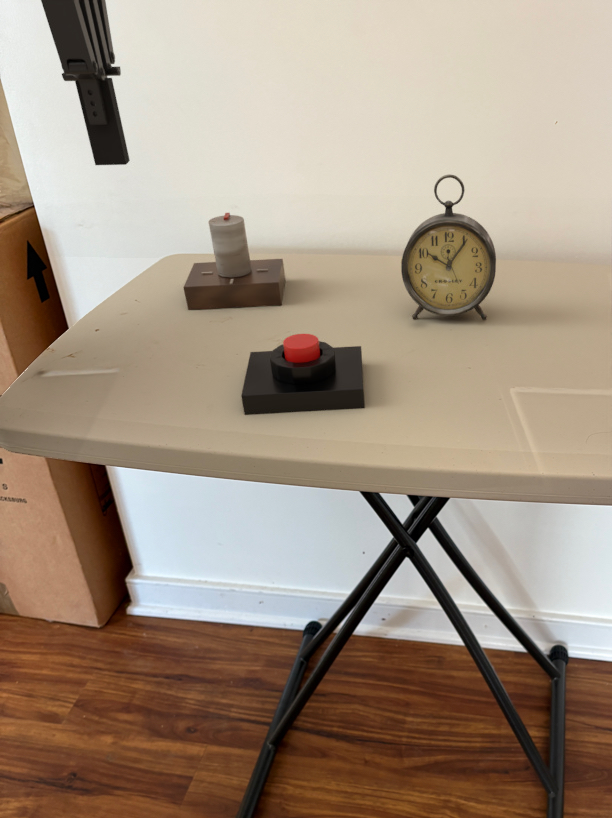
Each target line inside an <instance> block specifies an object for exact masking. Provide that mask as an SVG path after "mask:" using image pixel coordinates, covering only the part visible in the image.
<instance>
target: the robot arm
mask: <svg viewBox="0 0 612 818" xmlns="http://www.w3.org/2000/svg"><path fill="white" fill-rule="evenodd" d="M40 2H41V5H42V7H43V11H44V14H45V17H46V20H47V24H48V27H49V30H50V33H51V37H52V40H53V42H54V46H55V48H56V52H57V55H58V58H59V62H60V65H61V69H62V71H63V73H61V77H62V80H63V81H64V82H74V83H75V86H76V91H77V95H78V99H79V104H80V108H81V112H82V116H83V121H84V124H85V128H86V132H87V135H88V141H89V145H90V148H91V152H92V157H93V161H94V165H95V166H122V165H123V166H124V165H127V164H129V162H130V156H129V151H128V147H127V142H126V141H127V140H126V137H125V132H124V129H123V123H122V119H121V113H120V108H119V104H118V100H117V95H116V91H115V86H114V82H113V76H114V77H120V76H121V74H122V71H121V70H122V69H121V66H112V65H115V62H116V55H115V52H114V46H113V41H112V33H111V27H110V21H109V14H108V9H107V2H106V0H40Z"/></svg>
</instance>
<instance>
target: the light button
mask: <svg viewBox="0 0 612 818" xmlns="http://www.w3.org/2000/svg"><path fill="white" fill-rule="evenodd" d="M319 341H320V340H319V337H317V335H314V334H311V333H297V334H292V335H289V336H287V337H285V338H284V340H283V341H282V344H283V347H284V354H285V359H286V361H290V362H295V363H300V362H309V361H313V360H316V359H318V358H319V357H320V347H319Z"/></svg>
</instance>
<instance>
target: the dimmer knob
mask: <svg viewBox="0 0 612 818" xmlns="http://www.w3.org/2000/svg"><path fill="white" fill-rule="evenodd" d="M208 229H209V232H210V239H211V244H212V251H213V254H214V260H215V261H214V262H216V267H217V272H218V275H220V276H222V277H228V278H234V277H241V276H244V275H247V274H249V273H250V272H251V270H252V269H251V262H250V260H251V257H250V251H249V244H248V237H247V231H246V224H245V219H244V217H243V216H240V215H235V214H231V213H230V212H225V213H224V215H218V216H215V217H212V218H210V219H209V220H208Z"/></svg>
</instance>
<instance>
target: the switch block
mask: <svg viewBox="0 0 612 818" xmlns="http://www.w3.org/2000/svg"><path fill="white" fill-rule="evenodd" d="M319 347H320V357H319V358H318V359H316V360H313V361H309V362H300V363H295V362H290V361H286V359H285V354H284V347H283V343H282V344H280V345H278V346H277V347H276V348H274V349H272V350H264V351H263V350H262V351H250V352H249V358H248V363H247V366H246V372H245V375H244V382H243V386H242V390H241V394H240V398H241V403H242V408H243V413H244V416H253V415H254V416H255V415H270V414H271V415H272V414H288V413H305V412H323V411H324V412H325V411H342V410H356V409H357V410H359V409H365V408H366V405H365V391H364V390H365V387H364V369H363V367H364V366H363V353H362V345H357V346H337V347H333V346H332V345H330V344H329V343H327V342H325V341H320V340H319Z"/></svg>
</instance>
